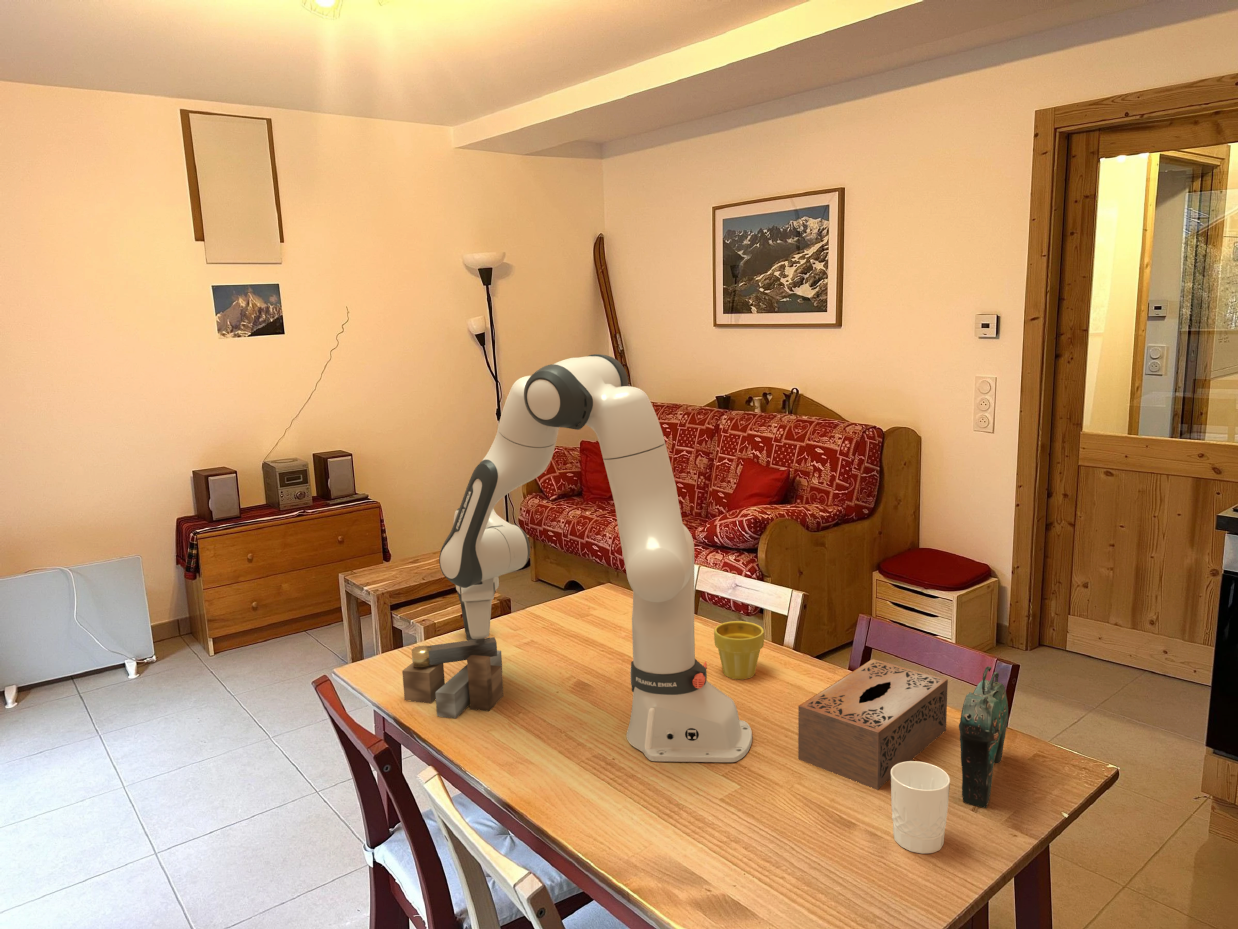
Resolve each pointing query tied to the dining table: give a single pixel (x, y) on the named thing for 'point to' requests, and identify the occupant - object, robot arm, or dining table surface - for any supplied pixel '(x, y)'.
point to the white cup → (919, 805)
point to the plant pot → (739, 647)
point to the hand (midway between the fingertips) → (480, 642)
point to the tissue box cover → (872, 721)
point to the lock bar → (453, 651)
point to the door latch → (457, 685)
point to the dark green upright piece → (982, 738)
